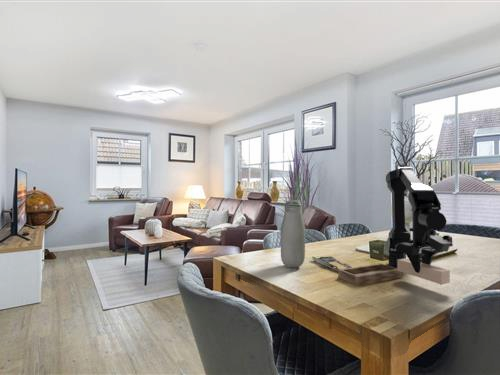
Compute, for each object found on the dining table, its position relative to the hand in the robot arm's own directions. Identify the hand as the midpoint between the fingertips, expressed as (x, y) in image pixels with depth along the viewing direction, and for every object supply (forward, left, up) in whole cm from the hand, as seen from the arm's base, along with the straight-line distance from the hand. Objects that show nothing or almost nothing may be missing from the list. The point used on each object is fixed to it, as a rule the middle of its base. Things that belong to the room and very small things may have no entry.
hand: (421, 271), depth 100 cm
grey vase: (+27, -38, -5) cm, 47 cm away
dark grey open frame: (+10, -32, -6) cm, 34 cm away
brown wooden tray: (+9, -14, -5) cm, 17 cm away
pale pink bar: (0, 0, -2) cm, 2 cm away
